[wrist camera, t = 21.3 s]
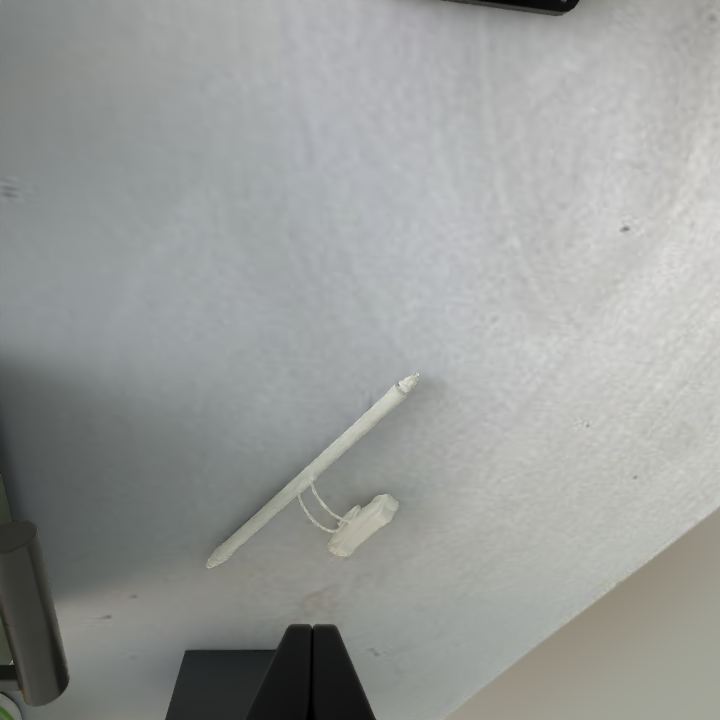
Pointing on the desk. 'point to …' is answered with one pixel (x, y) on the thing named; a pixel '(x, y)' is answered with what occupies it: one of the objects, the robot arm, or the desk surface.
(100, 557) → the desk surface
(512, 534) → the desk surface
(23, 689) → the drawer
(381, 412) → the picture light
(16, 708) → the supplement bottle
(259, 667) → the card box
